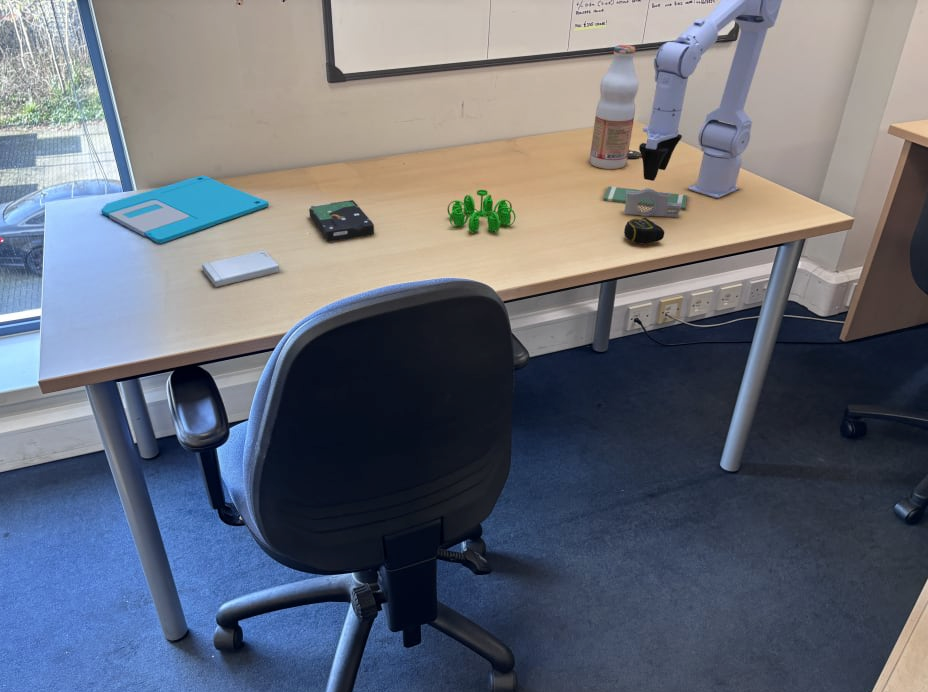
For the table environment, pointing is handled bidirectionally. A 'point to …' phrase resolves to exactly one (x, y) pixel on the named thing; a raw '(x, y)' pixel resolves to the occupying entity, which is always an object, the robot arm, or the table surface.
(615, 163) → the fruit juice
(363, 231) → the disk drive
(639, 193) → the lattice window wall
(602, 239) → the table surface
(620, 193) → the towel
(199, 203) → the floppy disk
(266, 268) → the hard drive
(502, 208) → the chandelier
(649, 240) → the tape measure
